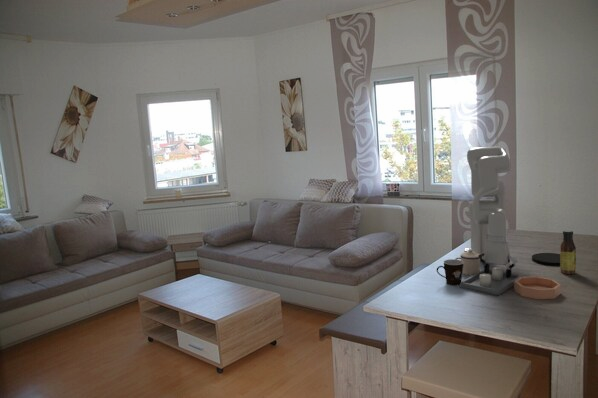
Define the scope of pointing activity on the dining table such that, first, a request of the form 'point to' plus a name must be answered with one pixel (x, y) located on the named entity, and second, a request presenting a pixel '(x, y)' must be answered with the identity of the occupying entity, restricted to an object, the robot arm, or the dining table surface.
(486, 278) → the pebble
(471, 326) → the dining table surface
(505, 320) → the dining table surface
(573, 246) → the sauce bottle
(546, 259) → the wireless charger
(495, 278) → the pebble
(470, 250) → the teacup with lid
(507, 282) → the parts tray
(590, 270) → the dining table surface
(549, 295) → the bowl
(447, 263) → the coffee mug
